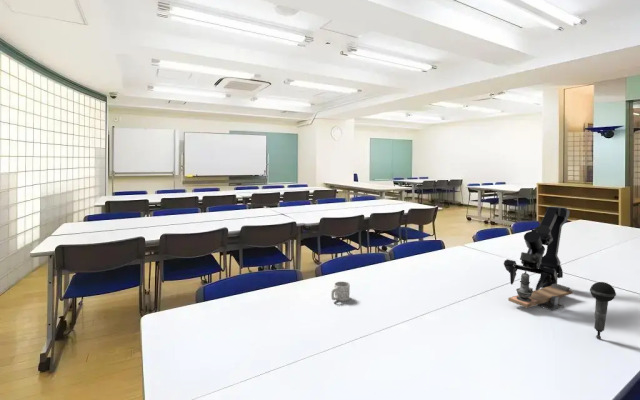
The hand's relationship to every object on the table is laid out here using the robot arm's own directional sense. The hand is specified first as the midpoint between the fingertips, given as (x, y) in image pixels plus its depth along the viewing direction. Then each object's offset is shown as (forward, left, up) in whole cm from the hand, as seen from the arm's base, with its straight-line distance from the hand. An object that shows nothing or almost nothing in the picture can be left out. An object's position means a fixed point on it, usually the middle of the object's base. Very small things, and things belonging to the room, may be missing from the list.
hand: (523, 287), depth 139 cm
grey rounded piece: (-1, 0, -6) cm, 6 cm away
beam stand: (-13, 0, -9) cm, 16 cm away
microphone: (0, +27, -10) cm, 28 cm away
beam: (-13, 0, -6) cm, 15 cm away
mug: (+63, -42, -10) cm, 76 cm away
